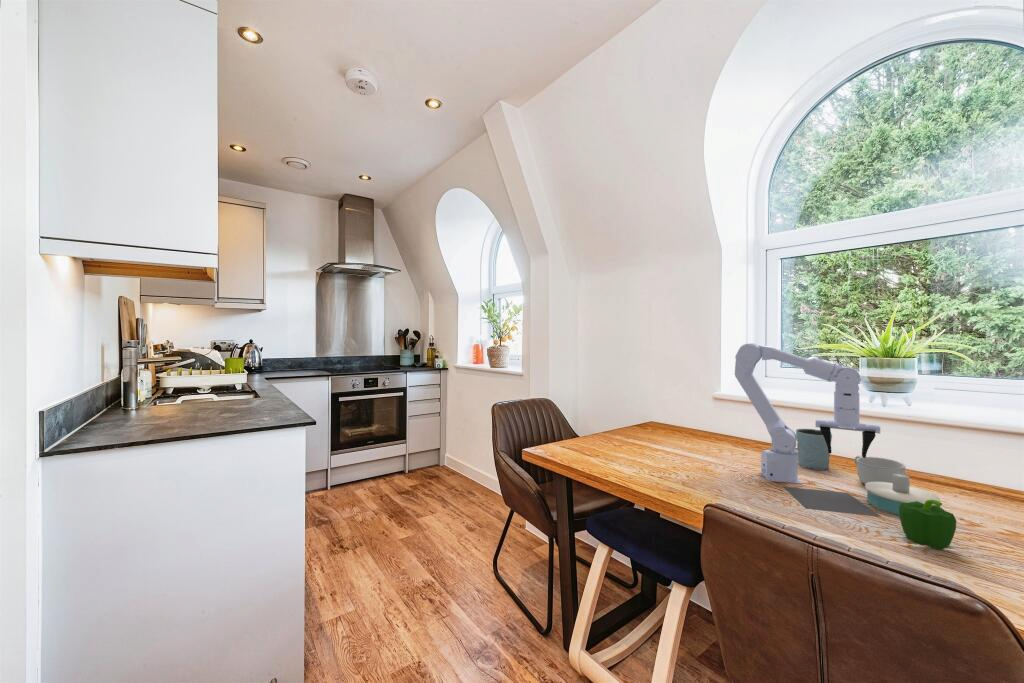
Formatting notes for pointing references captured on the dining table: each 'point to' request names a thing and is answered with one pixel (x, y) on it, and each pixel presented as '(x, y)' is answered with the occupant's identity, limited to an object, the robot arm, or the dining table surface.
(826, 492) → the mat
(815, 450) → the teal cup
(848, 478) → the dining table surface
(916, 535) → the bell pepper
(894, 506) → the bowl
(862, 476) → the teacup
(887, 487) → the lid
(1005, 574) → the dining table surface
